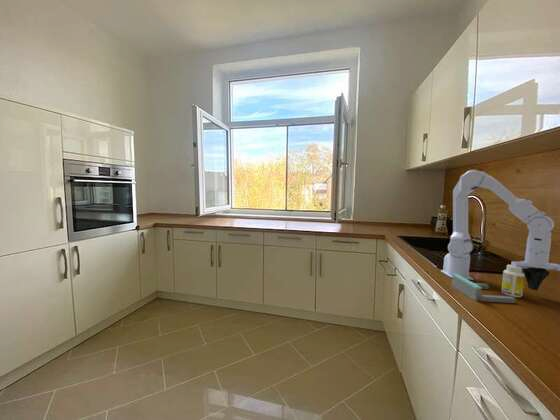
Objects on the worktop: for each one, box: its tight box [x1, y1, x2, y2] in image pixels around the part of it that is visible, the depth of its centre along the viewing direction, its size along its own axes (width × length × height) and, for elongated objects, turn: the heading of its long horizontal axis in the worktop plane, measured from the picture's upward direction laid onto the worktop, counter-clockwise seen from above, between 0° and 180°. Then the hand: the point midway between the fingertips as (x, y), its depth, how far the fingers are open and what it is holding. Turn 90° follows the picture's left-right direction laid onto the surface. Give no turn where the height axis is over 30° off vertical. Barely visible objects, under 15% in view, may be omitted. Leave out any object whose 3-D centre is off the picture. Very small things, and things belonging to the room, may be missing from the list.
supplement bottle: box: [500, 264, 526, 298], centre depth 89 cm, size 6×6×10 cm
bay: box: [451, 274, 516, 304], centre depth 89 cm, size 13×12×5 cm
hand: (532, 289), depth 89 cm, fingers closed
